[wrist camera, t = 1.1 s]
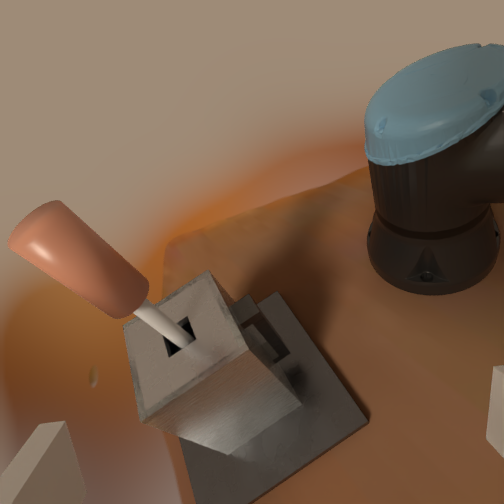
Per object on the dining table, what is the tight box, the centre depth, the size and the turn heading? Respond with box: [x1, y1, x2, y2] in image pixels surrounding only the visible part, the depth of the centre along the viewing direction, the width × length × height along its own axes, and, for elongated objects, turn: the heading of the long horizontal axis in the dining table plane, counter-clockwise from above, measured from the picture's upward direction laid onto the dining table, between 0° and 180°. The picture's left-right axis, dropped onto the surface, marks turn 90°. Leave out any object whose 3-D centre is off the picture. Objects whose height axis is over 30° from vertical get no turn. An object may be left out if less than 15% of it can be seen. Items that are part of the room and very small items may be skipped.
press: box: [123, 270, 369, 504], centre depth 35 cm, size 20×20×17 cm
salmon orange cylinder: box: [8, 200, 196, 349], centre depth 27 cm, size 4×4×24 cm
